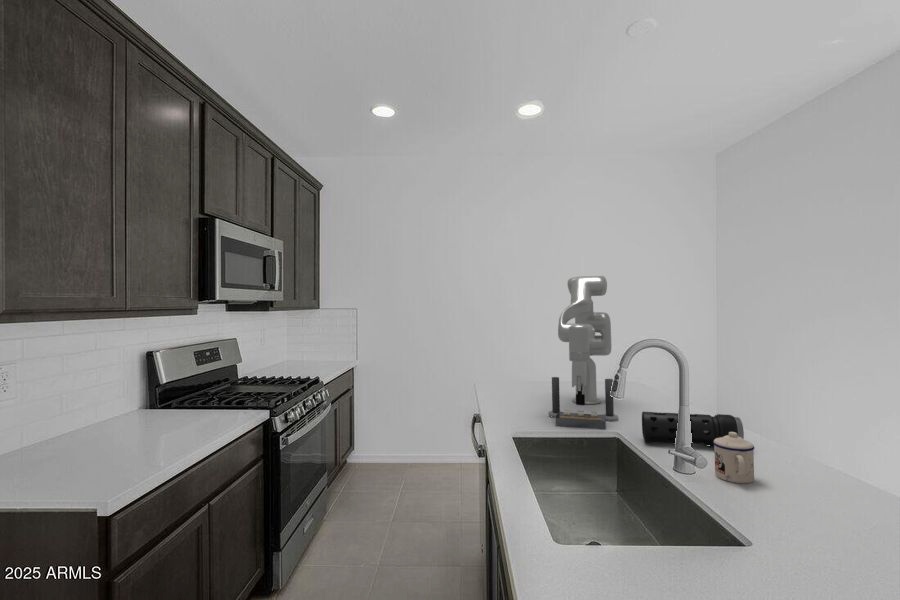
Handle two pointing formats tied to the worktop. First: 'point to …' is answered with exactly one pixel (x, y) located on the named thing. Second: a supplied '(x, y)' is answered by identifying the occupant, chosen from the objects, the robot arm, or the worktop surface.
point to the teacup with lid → (734, 459)
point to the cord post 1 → (555, 397)
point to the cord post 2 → (609, 402)
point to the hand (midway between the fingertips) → (580, 404)
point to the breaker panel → (581, 420)
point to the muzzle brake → (702, 427)
